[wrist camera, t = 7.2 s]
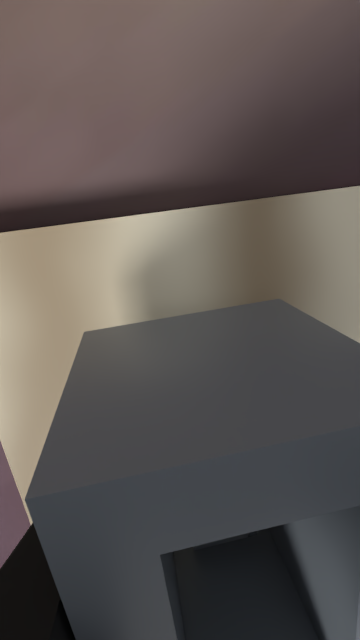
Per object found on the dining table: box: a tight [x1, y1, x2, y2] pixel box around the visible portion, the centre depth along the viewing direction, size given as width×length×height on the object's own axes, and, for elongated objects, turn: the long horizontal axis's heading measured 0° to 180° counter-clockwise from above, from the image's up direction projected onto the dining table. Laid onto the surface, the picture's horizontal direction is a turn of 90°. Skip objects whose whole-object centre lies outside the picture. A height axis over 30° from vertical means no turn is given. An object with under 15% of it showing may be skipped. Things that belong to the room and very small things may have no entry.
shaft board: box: [0, 186, 360, 524], centre depth 13 cm, size 15×20×1 cm
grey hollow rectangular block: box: [25, 299, 360, 640], centre depth 7 cm, size 5×7×5 cm
